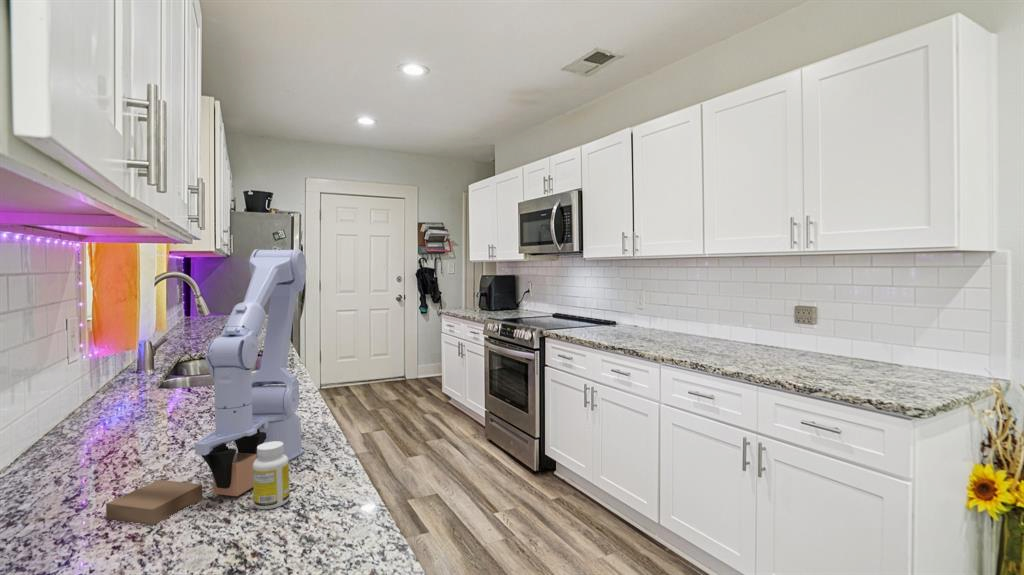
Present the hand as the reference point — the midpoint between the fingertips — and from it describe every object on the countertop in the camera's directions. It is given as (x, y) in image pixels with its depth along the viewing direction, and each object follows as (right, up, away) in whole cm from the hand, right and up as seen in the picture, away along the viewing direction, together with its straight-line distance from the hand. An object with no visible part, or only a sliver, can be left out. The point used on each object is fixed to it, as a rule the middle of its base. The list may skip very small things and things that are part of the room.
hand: (235, 480), depth 86 cm
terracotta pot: (0, -2, 0) cm, 2 cm away
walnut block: (-10, -3, -6) cm, 12 cm away
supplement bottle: (+8, -2, -4) cm, 10 cm away
